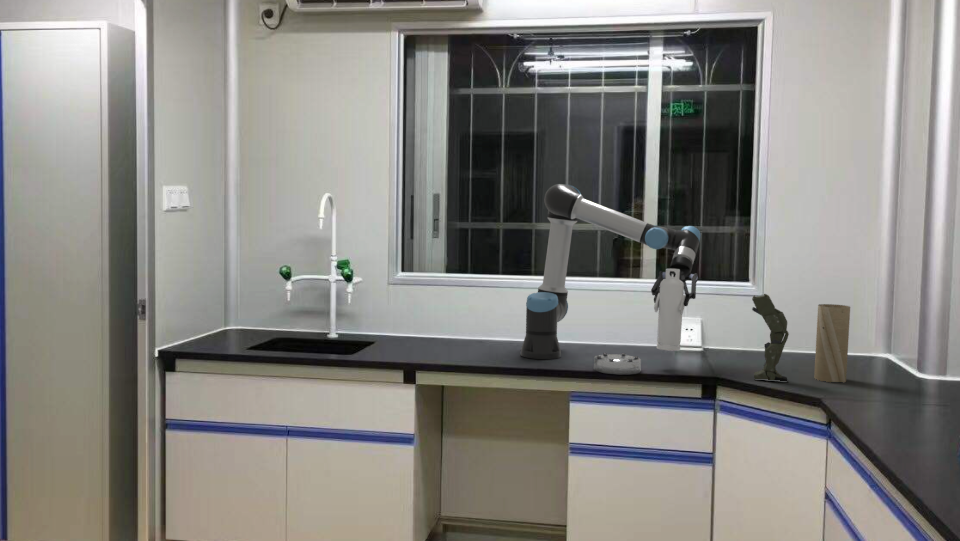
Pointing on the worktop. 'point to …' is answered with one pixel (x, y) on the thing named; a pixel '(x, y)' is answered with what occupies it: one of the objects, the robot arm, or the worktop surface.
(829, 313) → the tube
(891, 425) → the worktop surface
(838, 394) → the worktop surface
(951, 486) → the worktop surface
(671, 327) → the bottle
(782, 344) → the mechanical leg
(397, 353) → the worktop surface
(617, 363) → the flange stand
